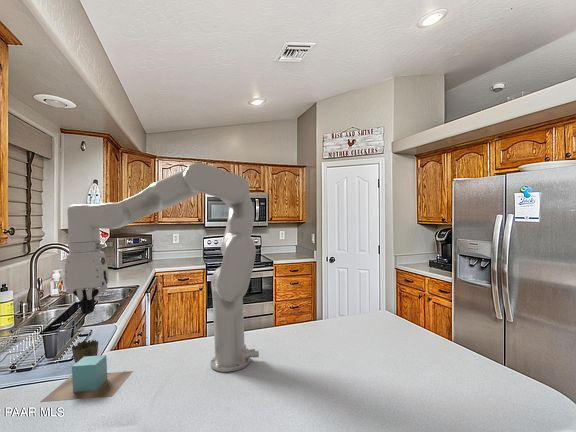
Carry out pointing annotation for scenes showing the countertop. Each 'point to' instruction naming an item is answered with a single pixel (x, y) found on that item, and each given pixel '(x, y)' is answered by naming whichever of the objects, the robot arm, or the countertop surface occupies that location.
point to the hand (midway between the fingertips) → (88, 312)
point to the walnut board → (104, 390)
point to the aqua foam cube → (89, 373)
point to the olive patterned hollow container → (85, 349)
